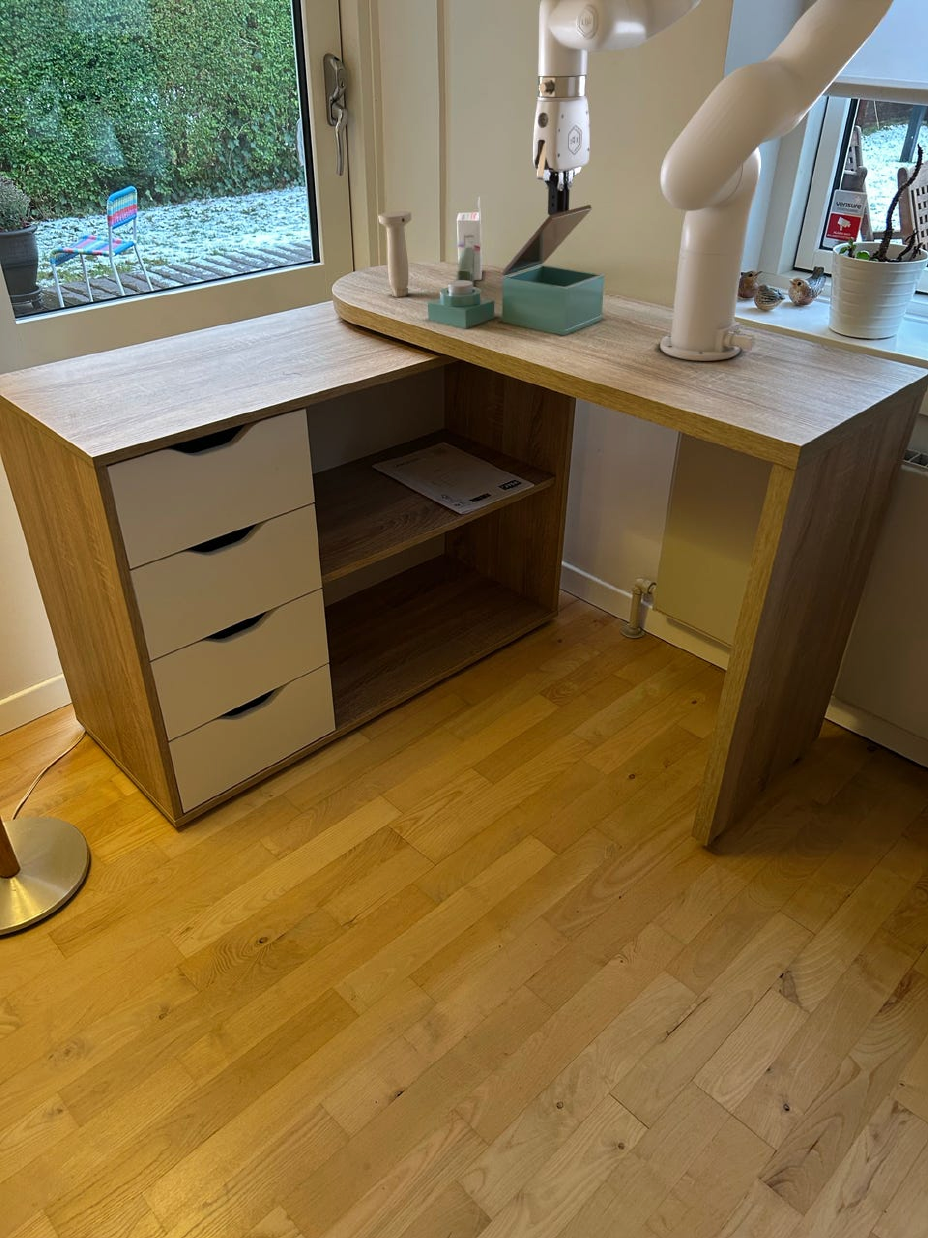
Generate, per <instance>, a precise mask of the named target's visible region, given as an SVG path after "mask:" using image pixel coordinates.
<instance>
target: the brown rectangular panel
mask: <svg viewBox="0 0 928 1238" xmlns="http://www.w3.org/2000/svg"><path fill="white" fill-rule="evenodd" d="M592 210H593V207H592V206H591V204H587V205H584V206H579V207H575V208H572V209H569V210H568V211H564V212H560V213H557V214H553V215H549V214H548V215H549V216H548V217H546V219H545V220H544V221H543V222H542V223H541V225H540V226H539V227H538V228H537V229H536V231H535V232H534V233H533V234H532V235H531V237H530V238H529V239H528V240H527V241H526V243H525V244H524V245H523V246H522V247H521V248H520V250H519V251H518V252H517V253H516V254H515V256H513V258H512V259H511V260H510V261H509V262H508V263H507V265H506V266H505V267H504V268H503V270H502V271H501V272H500V274H501V275H502V277H505V276H508V275H511V274H514V273H517V272H520V271H523V270H527V269H530V268H533V267H536V266H539V265H544V263H545V262H546V261H547V260H548V259H549V258H550V256H551V255H552V254H553V253H554V252H555V251H556V250H557V249H558V248H559V247H560V245H562V243H563V242H564V241H565V240H566V239H567V237H569V236H570V234H571V233H572V231H574V230H575V228H577V226H579V224H580V223H581V222H582V221H583V220H584V219H585V218H586V216H587V215H588V214H589V213H590V211H592Z"/></svg>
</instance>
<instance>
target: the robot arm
mask: <svg viewBox="0 0 928 1238" xmlns="http://www.w3.org/2000/svg"><path fill="white" fill-rule="evenodd" d="M701 1H702V0H541V1H540V3H539V11H538V13H539V14H538V19H539V20H538V62H537V63H538V65H537V67H538V68H537V70H538V72H537V103H536V109H535V115H534V126H533V139H532V140H533V141H532V163H533V167H534V168H535V169H536V170H537V173H536V179H538V180H540V181H544V182H545V188H546V190H547V214H548V215H553V214H557V213H560V212H564V211H568V210H570V189H572V187H573V180H574V177H575V176H576V175H577V174H579V173H580V172H581V171H582V168H584V167H585V166H586V165H587V164H588V163H589V161H590V152H591V151H590V150H591V149H590V148H591V133H590V132H591V131H590V128H591V127H590V110H589V102H588V97H586V95H587V74H588V52H591V53H602V52H610V51H624V50H630V49H634V48H636V47H639V46H642V45H643V44H644V43H647V42H649V41H650V40H652V39H654V38H655V37H657V36H658V35H660V34H661V33H663V32H665V31H667V30H668V29H670V28H671V27H673V26H675V25H676V24H677V23H679V22H680V21H681V20H683V19H684V18H685V17H686V16H687V15H688V14H689V13H691V12H692V10H694V9H696V7H697V6H698V5H699V4H700V3H701ZM894 1H895V0H815V1H814V3H813V4H812V5H811V6H810V7H809V8H808V9H807V10H806V11H805V12H804V13H803V14H802V16H801V17H800V18H799V19H798V20H797V21H796V22H795V24H794V25H793V27H792V28H791V30H790V31H789V32H788V34H787V35H786V36H785V37H784V39H783V40H782V41H781V42H780V43H779V45H778V46H777V47H776V48H775V50H773V52H772V53H771V54H770V55H769V56H768V57H766V59H764V60H763V61H759V62H754V63H749V64H746V65H742V66H741V67H738V68H737V69H735V70H733V71H731V72H730V73H729V74H728V75H727V76H725V77H724V78H723V79H722V80H721V81H720V82H719V83H718V84H717V85H716V87H714V88H713V90H712V91H711V92H710V94H709V95H708V97H706V99H705V100H704V102H703V103H702V105H701V106H700V107H699V108H698V110H697V111H696V112H695V114H694V115H693V116H692V118H691V119H690V121H689V122H688V123H687V124H686V125H685V127H684V128H683V130H682V131H681V132H680V134H679V135H678V137H677V138H676V139H675V140H674V142H673V143H672V145H671V146H670V147H669V149H668V151H667V153H666V154H665V157H664V159H663V162H662V164H661V168H660V175H659V182H660V189H661V192H662V195H663V196H664V198H665V199H666V201H667V203H669V204H670V205H671V206H672V207H674V208H675V209H678V210H681V211H686V212H685V215H684V218H683V224H682V230H681V236H680V246H679V254H678V265H677V274H676V282H675V283H676V284H675V291H674V292H675V294H674V301H673V302H674V303H673V312H672V313H673V314H672V323H671V332H670V334H667V335H665V336H663V337H662V338H661V340H660V345H659V346H660V347H659V348H660V350H661V351H662V352H663V353H665V354H666V355H668V356H671V357H674V358H678V359H683V360H688V361H700V362H710V361H711V362H712V361H720V360H726V359H730V358H732V357H735V356H737V355H738V354H739V353H740V351H741V350H745V351H752V350H753V348H754V346H755V342H756V341H755V340H756V339H755V335H754V333H753V334H752V333H748V332H742V331H741V330H740V325H741V322H740V321H736V320H735V316H736V309H737V301H738V296H739V288H740V281H741V280H740V279H741V273H742V267H743V260H744V250H745V246H746V238H747V232H748V226H749V221H750V215H751V211H752V207H753V203H754V202H753V201H754V199H755V196H756V192H757V188H758V184H759V180H760V175H761V168H762V165H761V163H762V161H761V153H760V150H759V147H760V146H761V145H762V144H765V143H767V142H771V141H775V140H778V139H780V138H783V137H785V136H786V135H787V134H789V133H790V132H792V131H793V130H794V129H795V128H796V127H797V126H798V125H799V123H800V122H801V121H802V120H803V118H804V117H805V116H806V114H808V113H809V111H810V110H811V108H812V107H813V106H814V105H815V104H816V102H817V101H818V100H819V99H820V97H821V96H823V94H824V93H825V92H826V91H827V90H828V88H829V87H830V86H831V85H832V84H833V82H834V81H835V80H836V79H837V78H838V76H839V75H840V74H841V73H842V71H843V70H844V69H845V68H846V66H847V65H848V64H849V62H850V61H851V60H852V59H853V58H854V57H855V56H856V54H857V53H858V52H859V51H860V49H862V47H863V46H864V45H865V44H866V42H867V41H869V39H870V38H871V36H872V35H873V34H874V33H875V32H876V30H877V28H878V27H879V26H880V25H881V23H882V21H883V20H884V18H885V17H886V16H887V13H888V12H889V10H890V9H891V6H892V4H893V2H894Z"/></svg>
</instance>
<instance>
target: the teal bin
mask: <svg viewBox="0 0 928 1238" xmlns="http://www.w3.org/2000/svg"><path fill="white" fill-rule="evenodd" d="M501 279H502V280H501V282H502V283H501V284H502V285H501V291H502V292H501V294H502V295H501V299H502V300H501V302H502V303H501V304H502V305H501V306H502V307H501V308H502V309H501V311H502V313H501V314H502V315H501V316H502V321H501V323H505V324H511V325H514V326H519V327H523V328H524V327H525V328H528V329H534V330H539V331H542V332H548V333H552V334H556V335H560V336H566V335H569V334H571V333H573V332H576V331H579V330H580V329H583V328H585V327H586V328H587V327H588V326H590V325H592V324H595V323H598V322H600V321H602V319H603V307H604V305H603V304H604V291H605V289H604V287H605V274H603V273H597V272H590V271H584V270H579V269H571V268H565V267H559V266H554V265H548V264H547V265H546V264H540V265H537V266H534V267H531V268H528V269H524V270H521V271H518V272H515V273H512V274H509V275H506V276H502V278H501Z"/></svg>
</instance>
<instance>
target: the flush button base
mask: <svg viewBox="0 0 928 1238" xmlns="http://www.w3.org/2000/svg"><path fill="white" fill-rule="evenodd" d="M482 293H483V292H482V289H481V288H479V287H476V286H473V293H470V294H464V295H454V294H449V293H448V287H445V288H442V289H441V290H440V291H439V298H437V299H434V300H431V301H428V302H427V315H428V317H427V318H428V321H431V322H436V323H440V324H445V325H448V326H452V327H453V326H454V327H456V328H457V327H458V328H462V329H468V328H472V327H473V326H476V325H479V324H482V323H485V322H487V321H491V320H493V319H495V300H494V299H490V298H483V295H482Z"/></svg>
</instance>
